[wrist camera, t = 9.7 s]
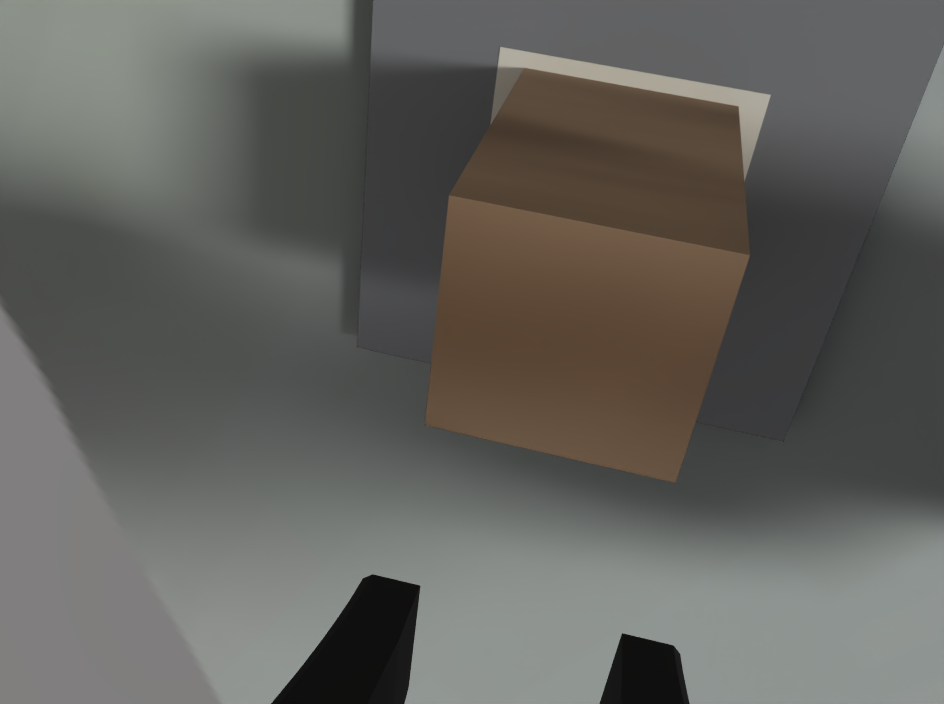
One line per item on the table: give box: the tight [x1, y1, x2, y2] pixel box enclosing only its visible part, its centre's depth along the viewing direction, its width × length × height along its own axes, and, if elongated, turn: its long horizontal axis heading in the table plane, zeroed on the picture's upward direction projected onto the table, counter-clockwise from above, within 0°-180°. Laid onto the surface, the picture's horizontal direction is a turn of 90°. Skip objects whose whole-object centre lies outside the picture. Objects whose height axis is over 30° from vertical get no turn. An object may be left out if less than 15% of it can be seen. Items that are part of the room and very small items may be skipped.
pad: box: [357, 0, 944, 442], centre depth 18 cm, size 10×10×1 cm
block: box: [425, 68, 750, 483], centre depth 15 cm, size 4×4×6 cm
